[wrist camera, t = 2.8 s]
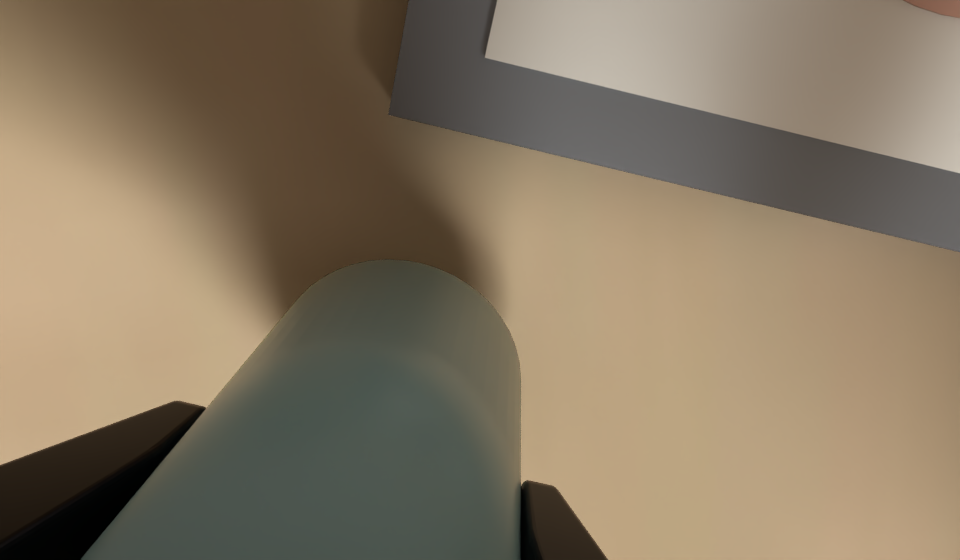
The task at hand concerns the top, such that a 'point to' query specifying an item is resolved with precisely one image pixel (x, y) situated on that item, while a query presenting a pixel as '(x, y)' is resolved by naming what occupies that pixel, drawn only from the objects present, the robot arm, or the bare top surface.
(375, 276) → the cylinder
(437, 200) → the top surface
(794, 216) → the top surface
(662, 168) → the drawing board
